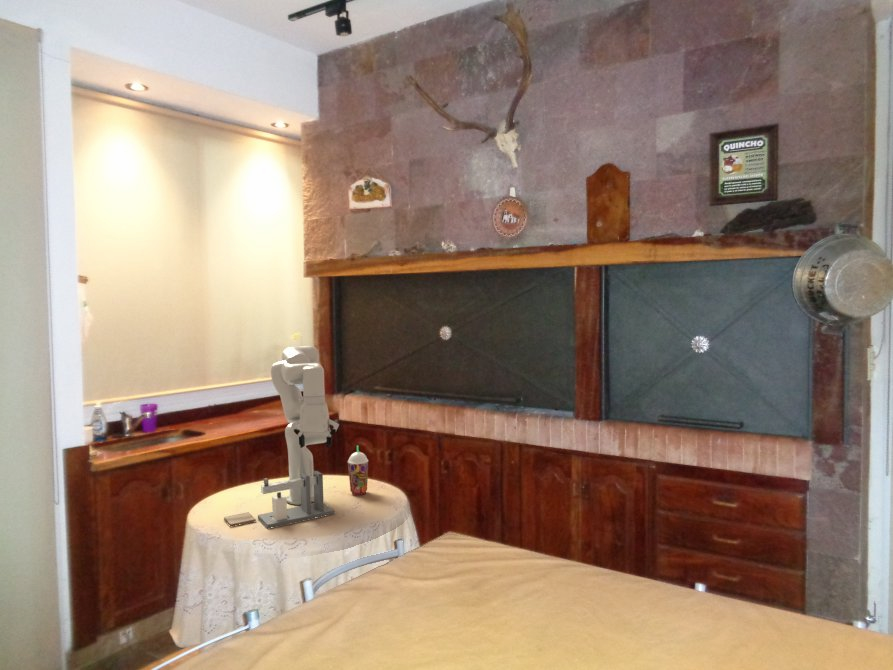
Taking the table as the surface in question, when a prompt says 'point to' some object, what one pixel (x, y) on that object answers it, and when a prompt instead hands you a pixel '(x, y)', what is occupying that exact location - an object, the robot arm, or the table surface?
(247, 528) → the table surface
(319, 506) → the socket block
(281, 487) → the bolt
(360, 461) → the smoothie
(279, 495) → the plug
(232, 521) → the pad
